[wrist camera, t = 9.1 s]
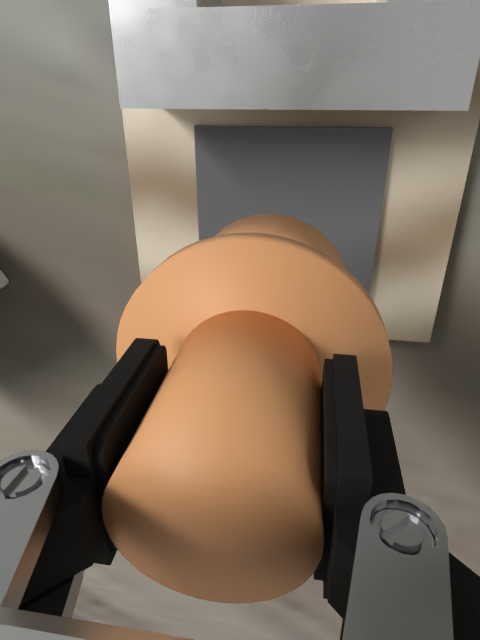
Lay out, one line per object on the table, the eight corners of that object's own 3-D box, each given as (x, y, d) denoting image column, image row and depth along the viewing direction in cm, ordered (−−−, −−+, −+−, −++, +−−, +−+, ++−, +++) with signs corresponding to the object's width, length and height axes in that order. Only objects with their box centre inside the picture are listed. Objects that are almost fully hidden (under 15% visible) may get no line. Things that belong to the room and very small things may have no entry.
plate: (84, -319, 18) (-15, -487, 13) (583, -386, 15) (721, -633, 10) (150, 314, 31) (115, 362, 25) (426, 334, 28) (450, 391, 23)
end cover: (169, 188, 16) (-46, 329, 7) (383, 194, 15) (491, 372, 6) (181, 364, 20) (51, 623, 10) (357, 379, 19) (397, 684, 9)
